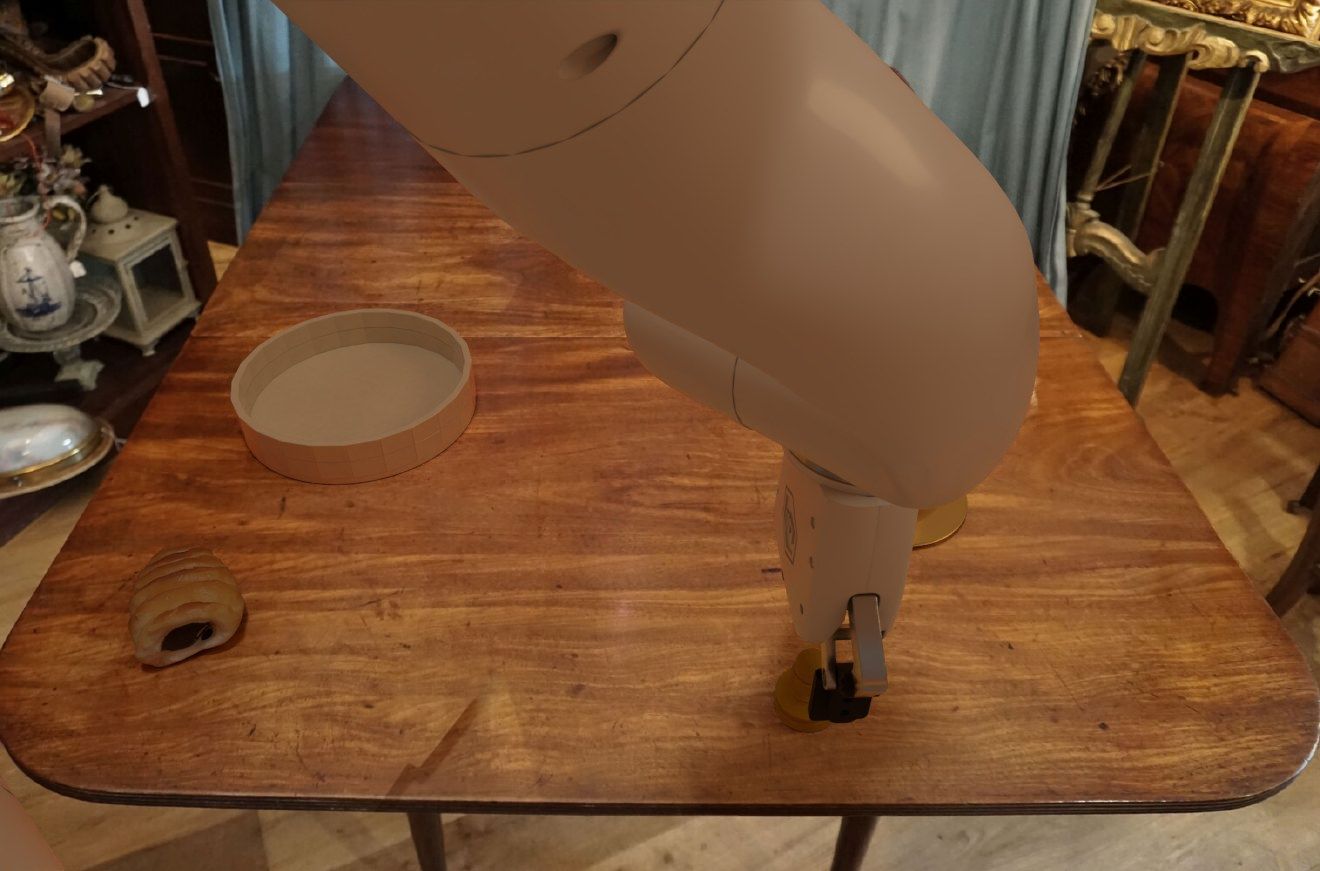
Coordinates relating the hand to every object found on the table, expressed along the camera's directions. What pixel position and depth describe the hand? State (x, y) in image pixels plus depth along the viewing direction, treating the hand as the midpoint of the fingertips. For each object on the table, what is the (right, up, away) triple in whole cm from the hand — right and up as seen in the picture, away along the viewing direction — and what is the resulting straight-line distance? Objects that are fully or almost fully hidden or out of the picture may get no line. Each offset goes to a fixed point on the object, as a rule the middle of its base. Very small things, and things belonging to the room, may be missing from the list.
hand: (820, 642), depth 55 cm
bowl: (-35, +14, +25) cm, 45 cm away
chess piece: (0, -5, +3) cm, 6 cm away
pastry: (-41, 0, +8) cm, 42 cm away
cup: (+8, +7, +18) cm, 21 cm away
